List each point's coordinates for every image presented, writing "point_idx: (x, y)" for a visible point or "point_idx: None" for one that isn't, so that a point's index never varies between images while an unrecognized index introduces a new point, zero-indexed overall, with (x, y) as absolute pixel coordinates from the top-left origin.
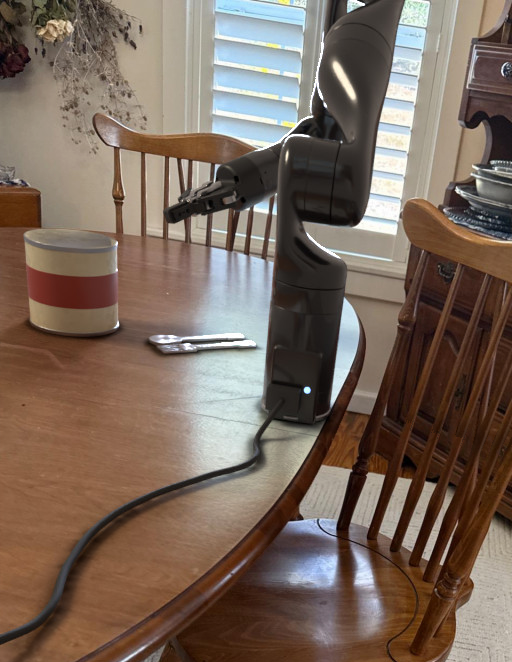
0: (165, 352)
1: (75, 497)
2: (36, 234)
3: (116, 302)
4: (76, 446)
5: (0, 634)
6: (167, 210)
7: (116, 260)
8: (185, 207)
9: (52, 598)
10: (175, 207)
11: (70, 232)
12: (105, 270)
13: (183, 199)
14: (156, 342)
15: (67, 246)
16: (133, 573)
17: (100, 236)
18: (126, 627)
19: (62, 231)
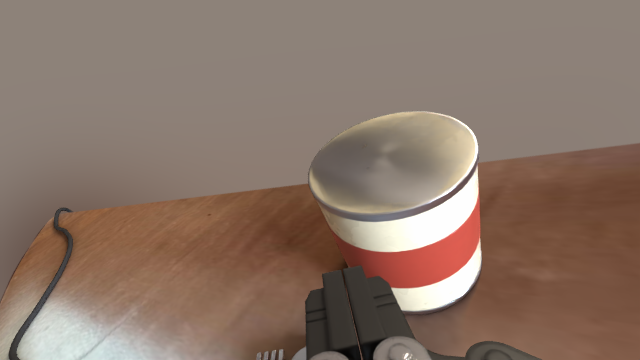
0: (257, 356)
1: (101, 237)
2: (397, 121)
3: None
4: (140, 240)
5: (57, 213)
6: (330, 272)
7: (360, 235)
8: (307, 346)
9: (56, 226)
10: (326, 298)
11: (440, 147)
12: (330, 225)
13: (393, 350)
14: (296, 353)
15: (320, 156)
16: (42, 254)
17: (423, 188)
18: (29, 248)
19: (444, 138)
